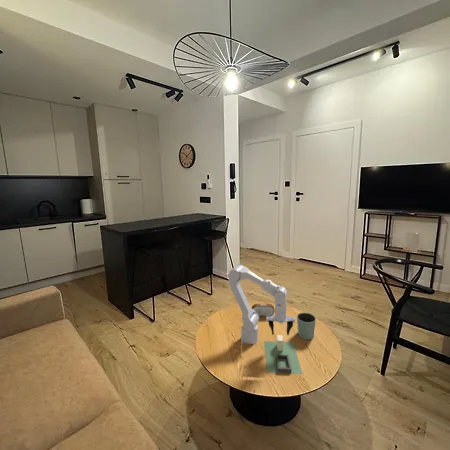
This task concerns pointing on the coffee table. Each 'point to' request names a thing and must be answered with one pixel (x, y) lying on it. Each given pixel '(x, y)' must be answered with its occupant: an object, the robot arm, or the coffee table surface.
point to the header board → (282, 358)
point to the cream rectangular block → (280, 343)
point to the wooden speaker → (263, 309)
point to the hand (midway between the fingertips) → (280, 333)
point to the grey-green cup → (306, 325)
